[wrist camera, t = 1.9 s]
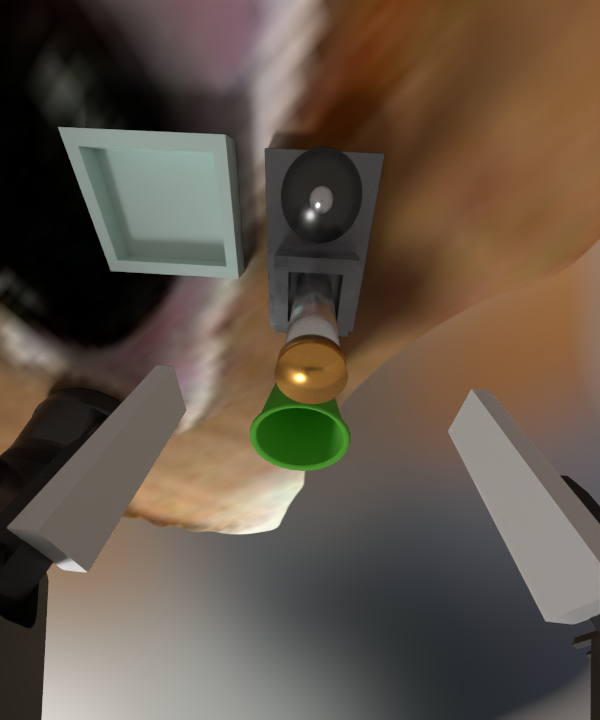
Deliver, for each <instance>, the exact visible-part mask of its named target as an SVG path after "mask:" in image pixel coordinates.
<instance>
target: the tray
mask: <svg viewBox="0 0 600 720" xmlns="http://www.w3.org/2000/svg"><path fill="white" fill-rule="evenodd" d="M58 129H59V131H60V134H61V137H62V140H63V142H64V145H65V148H66V150H67V153H68V156H69V159H70V161H71V164H72V167H73V170H74V172H75V175H76V178H77V180H78V183H79V186H80V189H81V191H82V194H83V197H84V199H85V202H86V205H87V208H88V210H89V213H90V216H91V218H92V221H93V224H94V227H95V229H96V232H97V235H98V237H99V240H100V243H101V246H102V248H103V251H104V254H105V256H106V259H107V262H108V265H109V267H110V270H111V271H119V272H136V273H153V274H169V275H186V276H203V277H220V278H237V279H239V278H240V277H241V275H242V274H243V273H244V272H245V263H244V250H243V238H242V225H241V212H240V199H239V187H238V174H237V161H236V148H235V140H234V139H232V138H230V137H229V136H227V135H224V134H202V133H179V132H157V131H135V130H112V129H90V128H68V127H58Z"/></svg>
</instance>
